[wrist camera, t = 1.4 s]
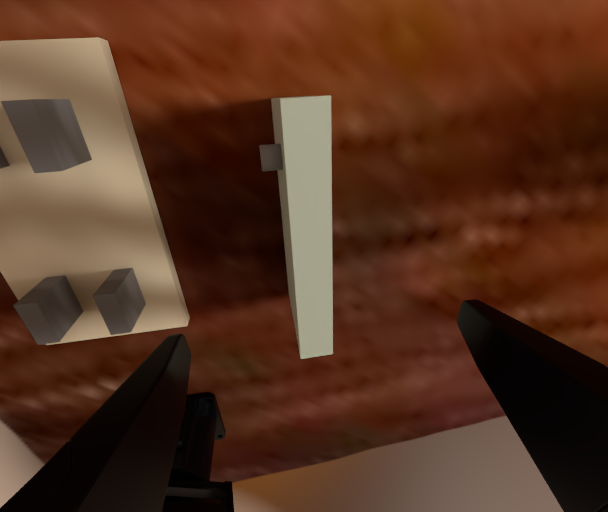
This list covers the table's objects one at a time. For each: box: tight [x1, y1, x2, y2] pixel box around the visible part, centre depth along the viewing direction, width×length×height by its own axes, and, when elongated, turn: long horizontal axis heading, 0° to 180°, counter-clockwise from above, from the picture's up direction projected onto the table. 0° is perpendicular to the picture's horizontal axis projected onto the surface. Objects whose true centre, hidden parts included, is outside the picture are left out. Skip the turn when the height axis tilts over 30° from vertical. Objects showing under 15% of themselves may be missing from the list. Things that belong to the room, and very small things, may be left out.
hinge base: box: [0, 38, 190, 345], centre depth 17 cm, size 18×10×4 cm, turn 3°
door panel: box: [259, 96, 333, 359], centre depth 18 cm, size 14×3×7 cm, turn 3°
